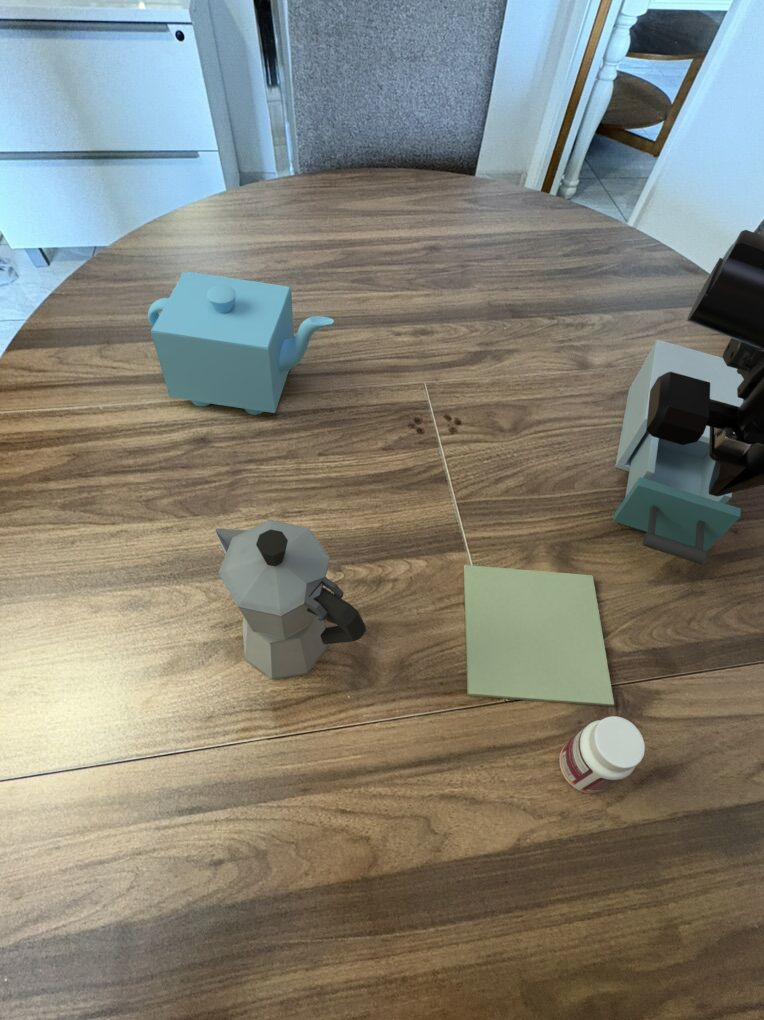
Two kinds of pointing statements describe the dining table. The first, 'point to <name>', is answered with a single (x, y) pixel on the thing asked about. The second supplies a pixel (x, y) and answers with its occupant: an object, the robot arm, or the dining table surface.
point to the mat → (534, 636)
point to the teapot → (228, 341)
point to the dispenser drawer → (675, 499)
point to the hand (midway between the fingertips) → (712, 491)
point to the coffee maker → (284, 597)
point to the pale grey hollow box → (681, 362)
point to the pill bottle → (601, 754)
